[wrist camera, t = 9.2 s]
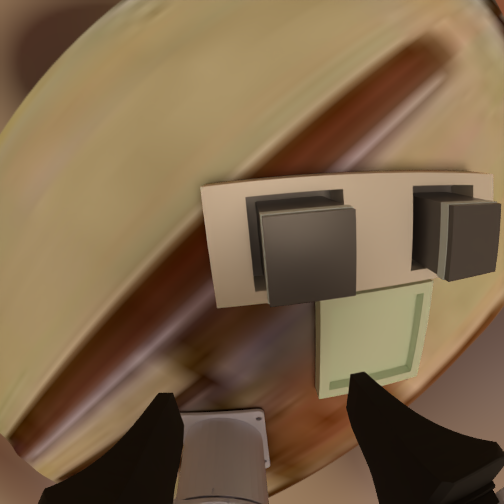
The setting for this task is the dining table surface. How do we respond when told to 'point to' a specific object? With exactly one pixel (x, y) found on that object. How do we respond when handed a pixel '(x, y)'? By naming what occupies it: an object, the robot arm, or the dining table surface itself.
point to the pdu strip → (338, 189)
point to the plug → (455, 234)
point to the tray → (371, 336)
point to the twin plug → (307, 249)
